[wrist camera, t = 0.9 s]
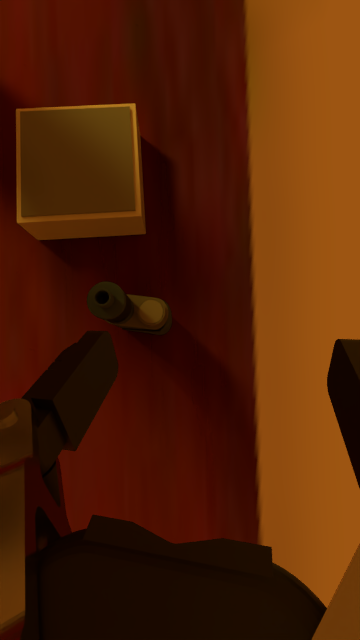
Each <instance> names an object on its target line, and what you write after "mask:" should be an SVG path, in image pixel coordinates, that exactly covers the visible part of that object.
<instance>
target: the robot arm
mask: <svg viewBox="0 0 360 640" xmlns="http://www.w3.org/2000/svg"><path fill="white" fill-rule="evenodd" d="M117 373H118V362H117V358H116V354H115V350H114V346H113V343H112V339H111V335H110V334H109V332H107V331H87V332H86V333H85V334H84V335H83V337H82V338H81V339H80V340H79V341H78V342H77V343H74V344H73V345H71V346H70V347H68V348H67V349H65V350H64V351H63V352H62V353H61V354H60V355H59V356H58V357H57V358H56V359H55V362H53V363H52V364H51V365H50V366H49V367H48V370H46V371H45V372H44V373H43V374H42V375H41V376H40V378H39V379H38V380H37V381H36V382H35V383H34V384H33V386H32V387H31V388H30V389H29V390H28V391H27V392H26V394H25V395H24V396H23V397H22V398H21V399H12V400H8V401H5V402H3V403H1V404H0V640H360V544H359V546H358V548H357V550H356V552H355V554H354V556H353V558H352V560H351V562H350V564H349V566H348V568H347V570H346V572H345V574H344V576H343V578H342V580H341V582H340V584H339V586H338V588H337V590H336V592H335V594H334V596H333V598H332V600H331V602H330V604H329V606H328V608H326V607H325V606H324V604H323V603H322V602H321V601H320V600H319V598H318V597H316V595H315V594H314V593H313V592H312V591H311V590H310V589H309V588H308V587H307V586H306V585H305V584H303V583H302V582H301V581H300V580H299V579H297V578H296V577H295V576H294V575H292V574H291V573H289V572H288V571H286V570H285V569H283V568H282V567H280V566H278V565H276V564H274V563H272V549H271V547H268V546H262V545H257V544H251V543H246V542H240V541H235V540H229V539H224V538H221V539H213V540H205V541H197V542H188V543H180V544H174V543H170V542H168V541H166V540H164V539H163V538H161V537H159V536H157V535H155V534H154V533H152V532H150V531H148V530H146V529H144V528H143V527H141V526H139V525H137V524H135V523H133V522H130V521H125V520H119V519H114V518H108V517H103V516H97V515H92V518H91V520H90V522H89V525H88V527H87V529H83V530H79V531H76V532H73V533H72V531H71V528H70V525H69V522H68V519H67V515H66V509H65V501H64V493H63V485H62V477H61V469H60V462H59V459H58V455H59V454H60V452H61V450H62V449H63V450H70V451H76V449H77V448H78V446H79V444H80V442H81V440H82V438H83V437H84V435H85V433H86V431H87V429H88V428H89V426H90V424H91V422H92V420H93V419H94V417H95V415H96V413H97V411H98V410H99V408H100V406H101V404H102V402H103V401H104V399H105V397H106V395H107V393H108V392H109V390H110V388H111V386H112V384H113V383H114V381H115V379H116V377H117ZM327 387H328V393H329V396H330V399H331V403H332V405H333V408H334V412H335V415H336V418H337V421H338V424H339V427H340V430H341V433H342V436H343V439H344V442H345V445H346V448H347V451H348V455H349V457H350V461H351V463H352V466H353V470H354V473H355V476H356V479H357V482H358V485H359V488H360V340H352V339H351V340H350V339H338V340H336V342H335V345H334V349H333V353H332V358H331V363H330V367H329V372H328V377H327Z"/></svg>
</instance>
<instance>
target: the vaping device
mask: <svg viewBox="0 0 360 640" xmlns="http://www.w3.org/2000/svg"><path fill="white" fill-rule="evenodd" d="M87 305H88V308H89V310H90V311H91V313H92V314H93V315H95V316H96V317H98V318H101V319H103V320H105V321H107V322H108V323H110V324H113V325H116V326H118V327H120V328H122V329H124V330H128V331H136V332H143V333H149V334H156V335H164V334H166V333H167V332H168V331H169V330H170V328H171V325H172V315H171V309H170V307H169V305H168V304H167V303H166V302H165V301H164V300H161V299H159V298H153V297H145V296H137V295H129V294H125V292H124V291H123V290H122V289H121V288H120V287H119V286H118V285H117V284H115V283H112V282H106V281H105V282H100V283H98V284H96V285H95V286H93V287H92V288H91V290H90V291H89V293H88V296H87Z"/></svg>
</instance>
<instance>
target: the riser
mask: <svg viewBox="0 0 360 640" xmlns="http://www.w3.org/2000/svg"><path fill="white" fill-rule="evenodd" d="M16 171H17V223H18V224H19V225H20V226H21V227H23V228H24V229H25V230H26V231H28V232H29V233H30V234H31V235H32V236H34V237H35V238H36V239H37V240H52V239H69V238H86V237H104V236H121V235H139V234H146V225H145V208H144V190H143V173H142V155H141V138H140V130H139V124H138V118H137V111H136V105H135V104H113V105H91V106H70V107H48V108H26V109H16Z"/></svg>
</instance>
